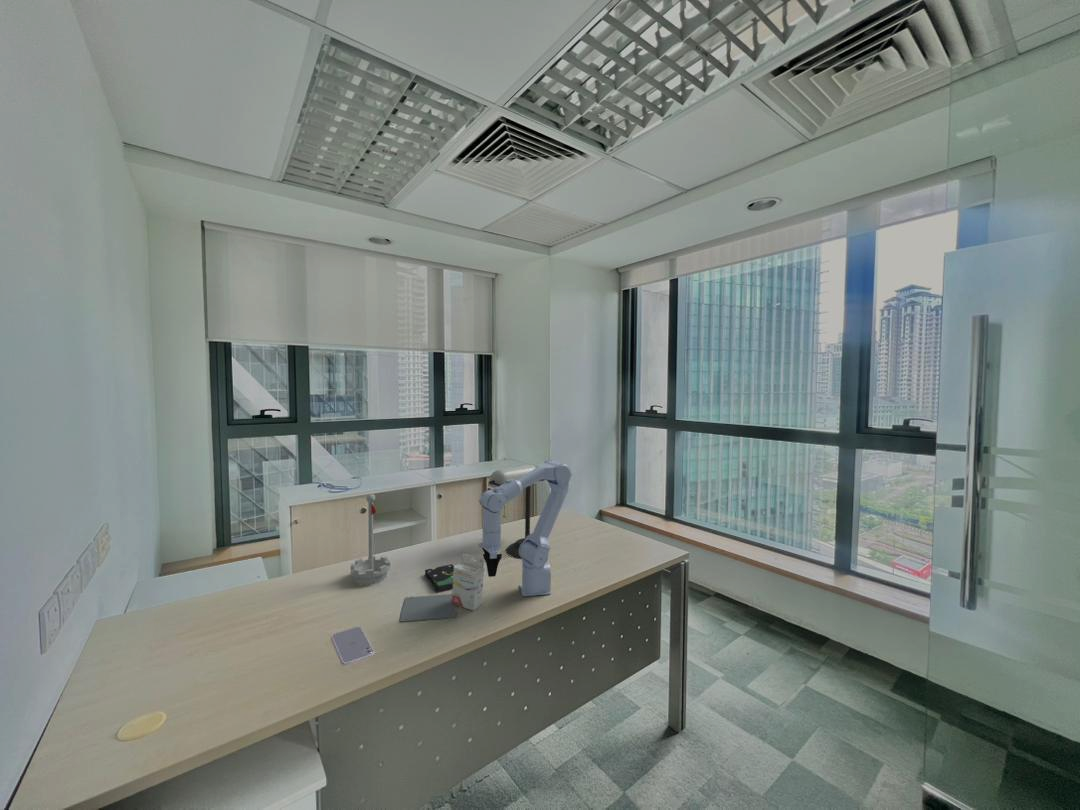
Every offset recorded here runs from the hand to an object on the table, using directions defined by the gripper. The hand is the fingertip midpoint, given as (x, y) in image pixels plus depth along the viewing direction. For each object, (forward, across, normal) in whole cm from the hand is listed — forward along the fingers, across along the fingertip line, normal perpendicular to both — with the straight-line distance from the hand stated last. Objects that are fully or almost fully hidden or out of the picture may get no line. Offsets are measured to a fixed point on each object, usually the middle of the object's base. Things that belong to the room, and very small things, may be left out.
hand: (491, 572), depth 134 cm
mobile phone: (+10, +16, -38) cm, 42 cm away
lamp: (+10, -43, +16) cm, 47 cm away
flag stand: (+10, -24, -40) cm, 48 cm away
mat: (+10, 0, -19) cm, 21 cm away
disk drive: (+11, -18, -15) cm, 26 cm away
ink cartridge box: (+10, 0, -8) cm, 12 cm away
